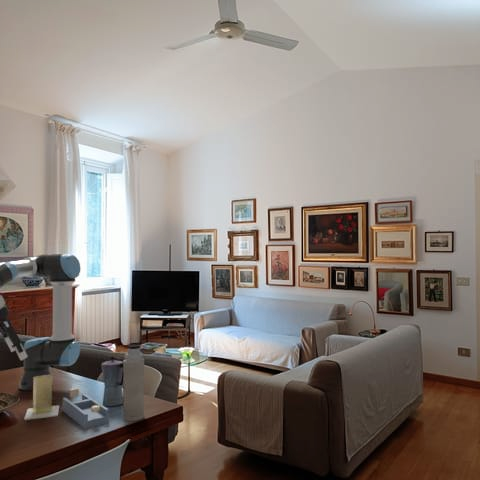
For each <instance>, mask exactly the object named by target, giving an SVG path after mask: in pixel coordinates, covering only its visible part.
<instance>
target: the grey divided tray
mask: <svg viewBox="0 0 480 480" xmlns="http://www.w3.org/2000/svg"><path fill="white" fill-rule="evenodd" d="M79 392H80V391H79V388H78V387H76V388H72V389H71V388H70V389H69V396H70V398H75V397H79ZM109 410H110V409H109V407H107V406H103V404H101V403H100V402H99V401H97V400H95V399H93V398H92V397H90V396H89V395H88V394H86V393H82V394H81V400H76V401H70V400H69V399H68V398H66V397H63V398H62V411H63V412H64V413H65V414H66V415H67V416H68V417H70V418H71V419H72V420H73V421H75V422H76V423H77V424H79V426H81V427H82V428H83V429H89V428H93V427H96V426H102V425H105V424H109V421H110V420H109V415H110V414H109Z"/></svg>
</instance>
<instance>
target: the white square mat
mask: <svg viewBox="0 0 480 480" xmlns="http://www.w3.org/2000/svg"><path fill="white" fill-rule="evenodd" d="M59 409H60V405H52V411H51V412H46V413H42V414H37V415H35V414H34V413H33V407H31V408H27V410H26V413H25V416H24V418H23V420H24V421H28V420H29V421H30V420H36V419H38V420H39V419H43V418H44V419H45V418H52V417H53V418H55V417H58V416H59Z"/></svg>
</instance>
